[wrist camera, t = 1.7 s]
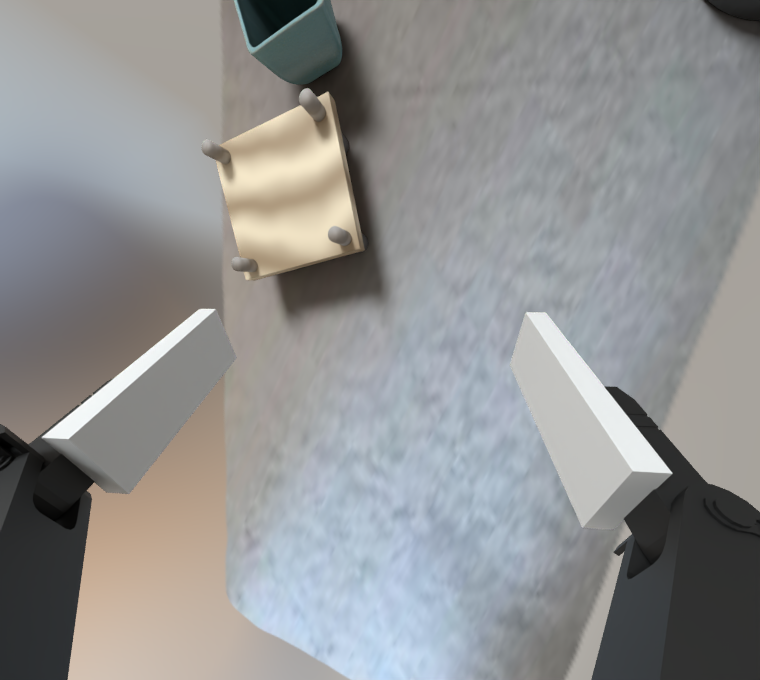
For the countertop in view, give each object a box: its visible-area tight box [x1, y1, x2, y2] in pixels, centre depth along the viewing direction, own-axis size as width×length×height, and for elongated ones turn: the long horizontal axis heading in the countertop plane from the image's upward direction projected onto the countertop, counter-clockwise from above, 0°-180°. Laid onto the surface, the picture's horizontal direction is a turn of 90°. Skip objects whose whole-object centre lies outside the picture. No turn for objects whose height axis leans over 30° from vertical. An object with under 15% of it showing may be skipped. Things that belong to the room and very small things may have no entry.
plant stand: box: [202, 88, 368, 280], centre depth 34 cm, size 16×16×8 cm
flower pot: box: [234, 0, 342, 84], centre depth 30 cm, size 9×9×9 cm
